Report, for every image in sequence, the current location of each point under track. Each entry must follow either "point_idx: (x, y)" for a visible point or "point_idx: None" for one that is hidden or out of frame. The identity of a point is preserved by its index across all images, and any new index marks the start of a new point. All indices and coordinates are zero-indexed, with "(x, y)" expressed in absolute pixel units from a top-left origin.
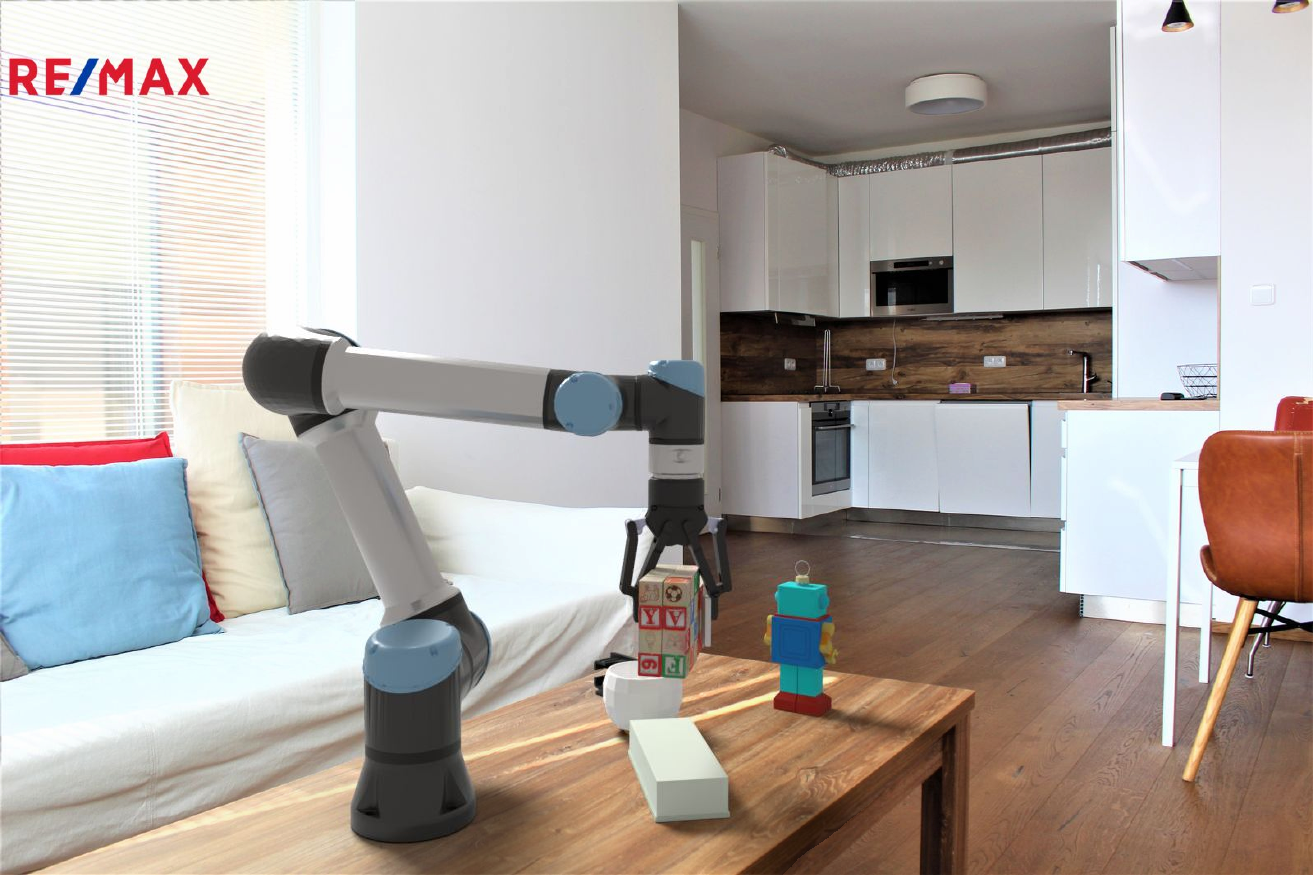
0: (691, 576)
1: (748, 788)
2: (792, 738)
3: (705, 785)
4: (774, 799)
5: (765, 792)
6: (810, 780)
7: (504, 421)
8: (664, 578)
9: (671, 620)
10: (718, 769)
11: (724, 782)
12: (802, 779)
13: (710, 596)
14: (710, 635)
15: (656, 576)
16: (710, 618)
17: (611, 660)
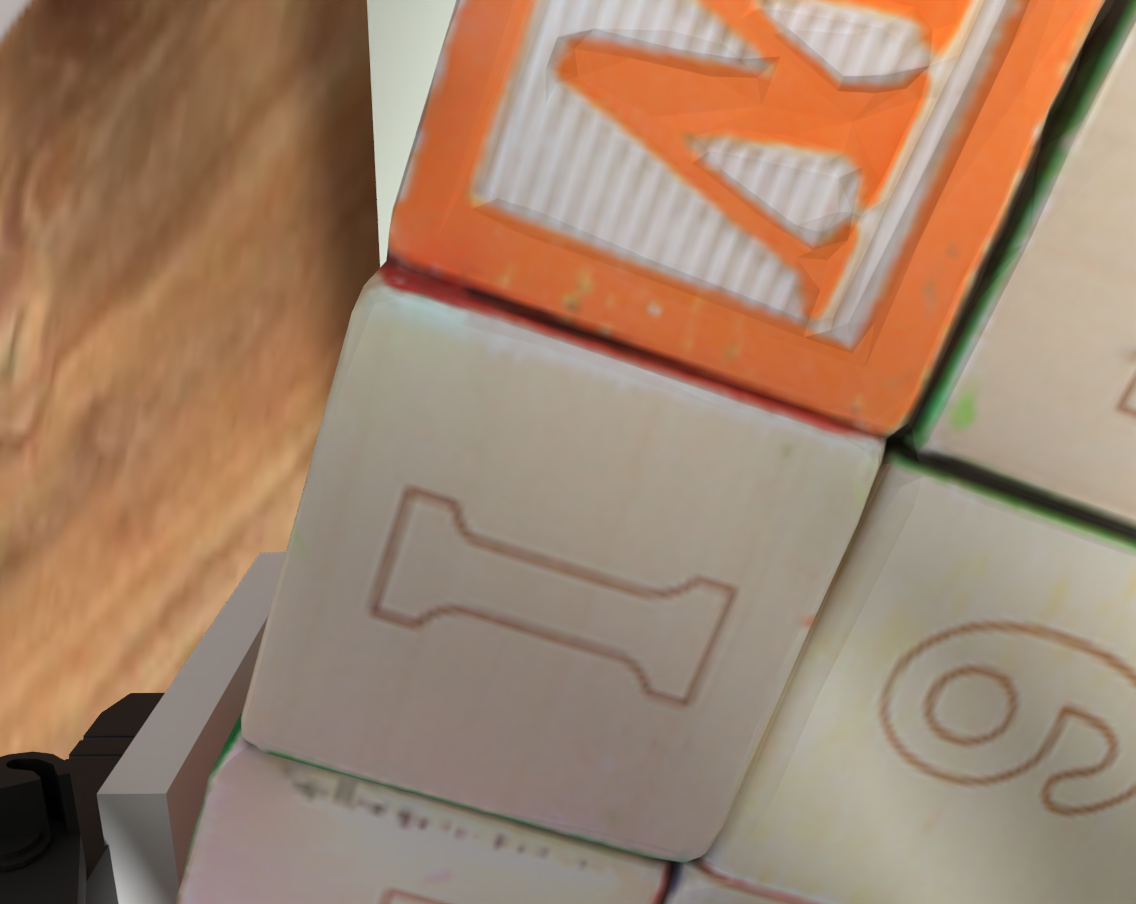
0: (351, 359)
1: (262, 279)
2: (8, 737)
3: None
4: (179, 153)
5: (203, 228)
6: (4, 319)
7: None
8: (1008, 315)
9: None
10: (393, 93)
11: None
12: (34, 334)
13: (93, 849)
14: (236, 591)
15: (1112, 548)
16: (187, 666)
17: None
